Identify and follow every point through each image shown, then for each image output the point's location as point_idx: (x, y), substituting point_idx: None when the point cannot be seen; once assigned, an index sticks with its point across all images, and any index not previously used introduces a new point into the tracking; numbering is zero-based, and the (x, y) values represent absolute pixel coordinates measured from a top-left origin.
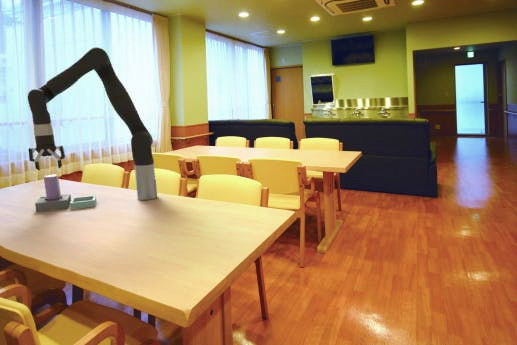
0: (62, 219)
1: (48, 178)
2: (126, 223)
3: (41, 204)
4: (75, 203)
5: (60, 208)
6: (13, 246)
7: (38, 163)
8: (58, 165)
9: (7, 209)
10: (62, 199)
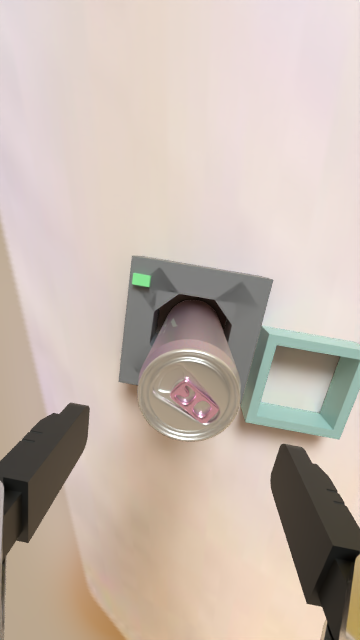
0: (204, 499)
1: (170, 430)
2: None
3: None
4: (264, 422)
5: None
6: (106, 605)
7: (41, 508)
8: (284, 517)
9: (16, 244)
10: None
